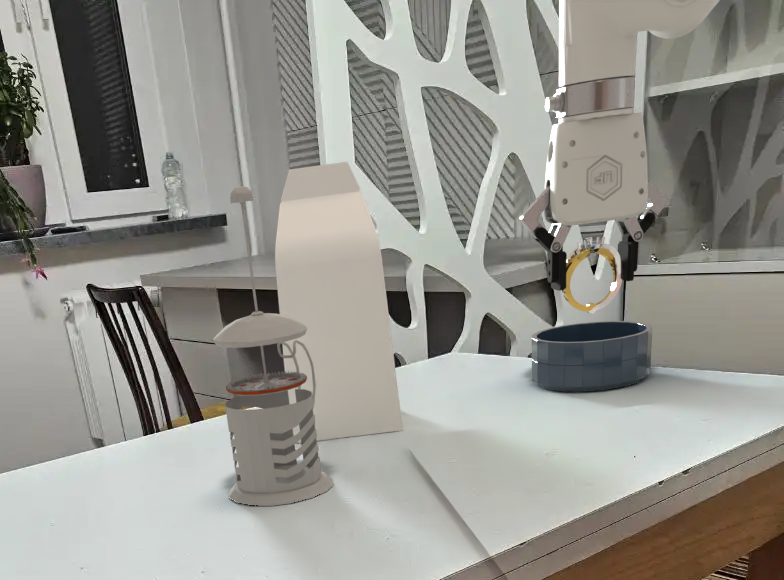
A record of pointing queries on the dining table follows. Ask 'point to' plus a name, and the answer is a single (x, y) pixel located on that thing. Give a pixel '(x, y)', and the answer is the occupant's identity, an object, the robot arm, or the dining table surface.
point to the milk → (336, 302)
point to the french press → (271, 411)
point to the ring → (574, 260)
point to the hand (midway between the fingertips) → (591, 283)
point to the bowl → (591, 355)
